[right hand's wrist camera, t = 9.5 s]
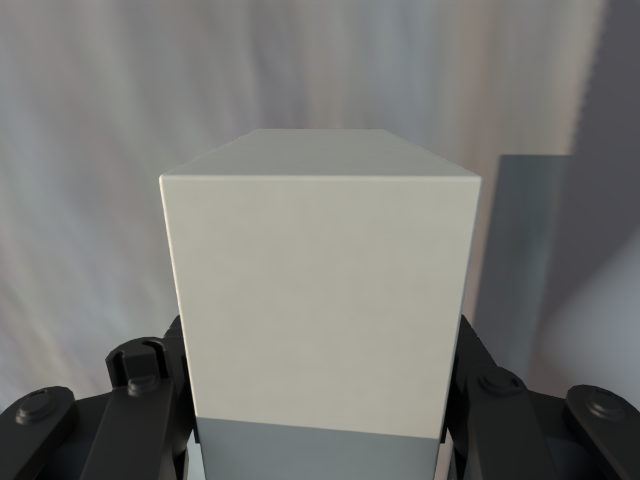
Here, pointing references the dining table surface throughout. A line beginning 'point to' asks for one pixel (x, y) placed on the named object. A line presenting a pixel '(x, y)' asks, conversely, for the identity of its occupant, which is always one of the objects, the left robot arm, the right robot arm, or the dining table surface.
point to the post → (320, 300)
